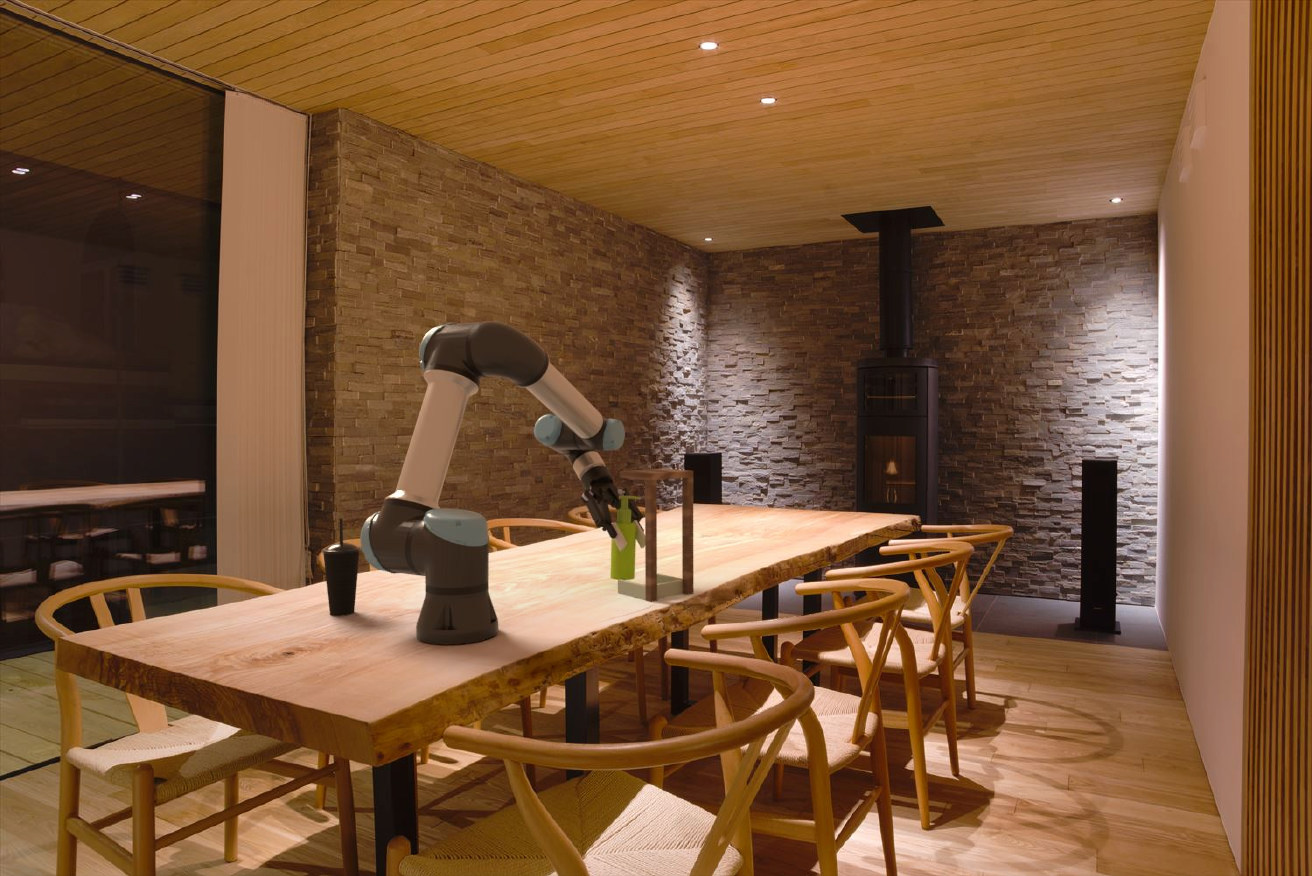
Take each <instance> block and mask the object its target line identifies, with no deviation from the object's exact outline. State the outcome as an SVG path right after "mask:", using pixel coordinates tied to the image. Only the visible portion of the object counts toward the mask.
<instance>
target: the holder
mask: <svg viewBox="0 0 1312 876" xmlns="http://www.w3.org/2000/svg"><path fill="white" fill-rule="evenodd" d="M617 593H618V594H621V595H624V596H628V597H632V598H636V599H640V600H643V601H646V584H643V583H640V582H639V583H638V582H634V581H632V580H617ZM682 594H683V581H682V578H680V577H676V576H672V575H668V574H663V573H657V599H660V598H665V597H666V598H667V597H671V596H675V595H682Z"/></svg>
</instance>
